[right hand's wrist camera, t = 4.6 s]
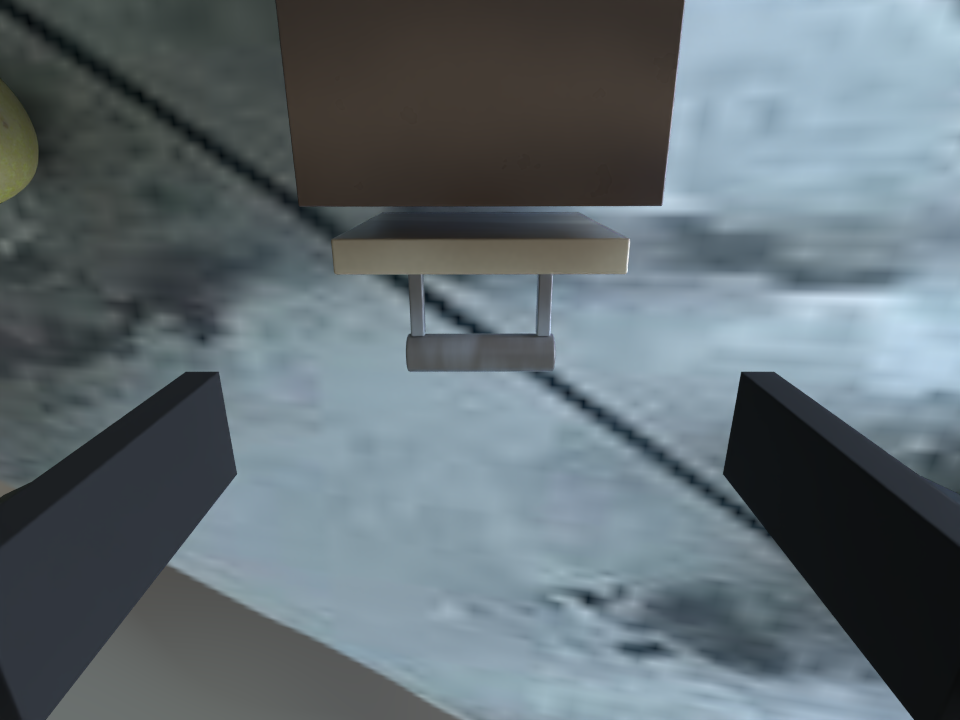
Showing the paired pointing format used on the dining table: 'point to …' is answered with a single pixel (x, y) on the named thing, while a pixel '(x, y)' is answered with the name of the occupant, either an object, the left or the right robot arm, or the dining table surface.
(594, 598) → the dining table surface
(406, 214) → the drawer
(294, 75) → the cabinet
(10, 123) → the fruit
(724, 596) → the dining table surface
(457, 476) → the dining table surface
